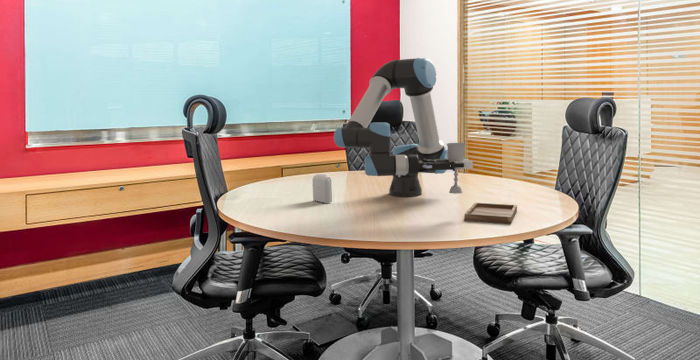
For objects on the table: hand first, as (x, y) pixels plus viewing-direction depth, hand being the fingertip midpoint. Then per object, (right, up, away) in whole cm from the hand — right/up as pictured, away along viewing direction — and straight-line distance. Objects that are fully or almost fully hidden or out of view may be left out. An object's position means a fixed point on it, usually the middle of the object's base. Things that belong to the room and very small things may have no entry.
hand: (470, 163), depth 185 cm
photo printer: (-56, -16, +38) cm, 69 cm away
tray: (+9, -19, +4) cm, 22 cm away
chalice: (-5, -11, +2) cm, 12 cm away
